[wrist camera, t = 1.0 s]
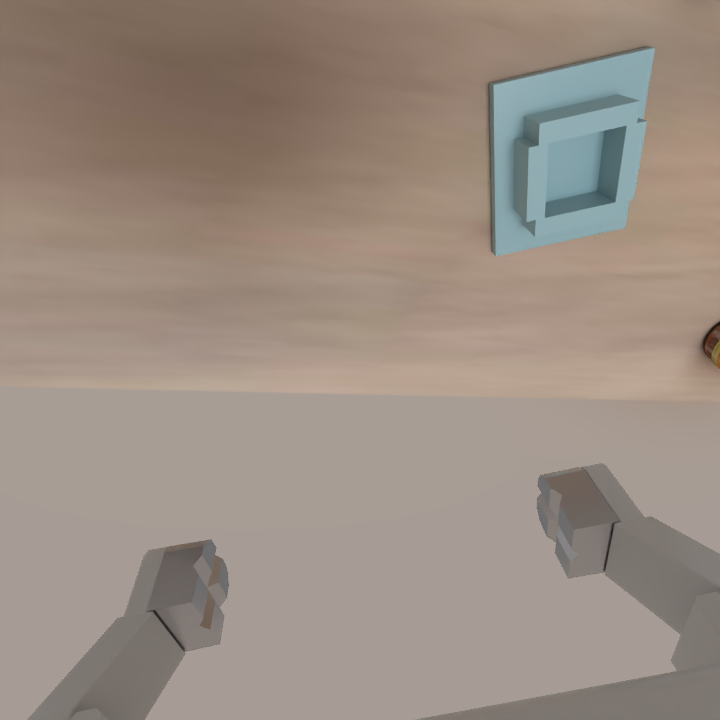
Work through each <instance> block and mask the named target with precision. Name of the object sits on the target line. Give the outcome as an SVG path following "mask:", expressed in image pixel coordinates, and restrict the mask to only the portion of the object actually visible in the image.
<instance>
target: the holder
mask: <svg viewBox="0 0 720 720" xmlns="http://www.w3.org/2000/svg"><path fill="white" fill-rule="evenodd" d="M654 52H655V47H643V48H639V49H635V50H630V51H626V52H622V53H617V54H613V55H609V56H604V57H600V58H596V59H591V60H587V61H583V62H578V63H574V64H570V65H566V66H561V67H557V68H553V69H548V70H544V71H540V72H535V73H531V74H527V75H522V76H518V77H514V78H509V79H505V80H501V81H497V82H492V83H489V95H490V152H491V209H492V252H493V253H494V255H495V256H499V255H503V254H508V253H513V252H517V251H522V250H526V249H531V248H535V247H540V246H544V245H549V244H554V243H558V242H563V241H567V240H572V239H576V238H581V237H586V236H590V235H595V234H599V233H604V232H608V231H613V230H618V229H622V228H626V222H627V216H628V210H629V204H630V199H633V198H634V195H635V189H636V184H637V178H638V172H639V166H640V160H641V154H642V148H643V142H644V136H645V130H646V125H647V121H646V120H643V119H644V113H645V107H646V101H647V94H648V88H649V82H650V76H651V70H652V64H653V58H654Z"/></svg>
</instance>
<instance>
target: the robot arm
mask: <svg viewBox="0 0 720 720" xmlns="http://www.w3.org/2000/svg"><path fill="white" fill-rule="evenodd" d="M538 487H539V489H540V491H541V494H540V495H539V497H538V498H537V510H538V514H539V519H540V522H541V525H542V527H543V529H544V531H545V533H546V535H547V537H549V538H550V539H552V540H553V541H555V542H556V549H555V554H556V556H557V557H558V559H559V561H560V563H561V565H562V567H563V569H564V571H565V573H566V575H567V577H568V578H573V577H579V576H585V575H591V574H598V573H604V572H605V575H606V576H607V577H608V578H610V579H611V580H612V581H614V582H615V583H616V584H617V585H619V586H620V587H621V588H622V589H624V590H625V591H626V592H628V593H629V594H630V595H631V596H633V597H634V598H635V599H636V600H638V601H639V602H640V603H641V604H643V605H644V606H645V607H646V608H648V609H649V610H650V611H651V612H653V613H654V614H655V615H657V616H658V617H659V618H660V619H662V620H663V621H664V622H666V623H667V624H668V625H669V626H670V627H672V628H673V629H674V630H676V631H677V632H678V633H679V634H681V636H680V638H679V641H678V643H677V646H676V648H675V651H674V654H673V656H672V659H671V662H672V663H673V665H674V667H675V668H676V670H677V671H676V672H670V673H665V674H660V675H654V676H649V677H643V678H638V679H633V680H627V681H622V682H617V683H611V684H606V685H600V686H595V687H589V688H584V689H578V690H573V691H568V692H562V693H557V694H552V695H546V696H541V697H536V698H530V699H525V700H519V701H514V702H508V703H503V704H498V705H492V706H486V707H482V708H476V709H470V710H465V711H460V712H454V713H449V714H444V715H438V716H432V717H427V718H422V719H417V720H720V554H719V553H717V552H715V551H713V550H712V549H710V548H708V547H706V546H704V545H702V544H700V543H699V542H697V541H695V540H693V539H691V538H690V537H688V536H686V535H684V534H682V533H681V532H679V531H677V530H675V529H673V528H671V527H670V526H667V525H666V524H664V523H662V522H660V521H659V520H657V519H655V518H653V517H644V516H643V514H642V513H641V512H640V510H639V509H638V508H637V507H636V505H635V504H634V503H633V501H632V500H631V498H630V497H629V496H628V494H627V493H626V492H625V490H624V489H623V488H622V486H621V485H620V484H619V482H618V481H617V479H616V478H615V477H614V475H613V474H612V473H611V472H610V470H609V469H608V468H607V466H605V465H604V464H602V463H601V464H595V465H590V466H585V467H581V468H579V467H577V468H573V469H568V470H563V471H558V472H553V473H549V474H544V475H540V476H539V478H538ZM215 552H216V546H215V545H214V543H213V542H212V540H205V541H199V542H193V543H188V544H181V545H175V546H169V547H164V548H159V549H152V550H149V551H148V552H147V553H146V554H145V556H144V557H143V560H142V563H141V566H140V569H139V572H138V575H137V578H136V581H135V584H134V587H133V590H132V593H131V596H130V599H129V602H128V605H127V608H126V611H125V614H124V617H120V618H117V619H116V620H115V621H114V623H113V624H112V625H111V626H110V627H109V628H108V629H107V631H106V632H105V633H104V634H103V635H102V636H101V637H100V639H98V641H97V642H96V643H95V644H94V645H93V646H92V648H91V649H90V650H89V651H88V652H87V653H86V654H85V655H84V657H83V658H82V659H81V660H80V661H79V662H78V663H77V664H76V665H75V666H74V668H73V669H72V670H71V671H70V672H69V674H67V676H66V677H65V678H64V679H63V680H62V681H61V682H60V683H59V685H58V686H57V687H56V688H55V689H54V690H53V691H52V692H51V694H50V695H49V696H48V697H47V698H46V699H45V700H44V701H43V703H42V704H41V705H40V706H39V707H38V708H37V709H36V710H35V712H34V713H33V714H32V715H31V716H30V717H29V718H28V720H145V718H146V716H147V715H148V713H149V712H150V710H151V708H152V707H153V705H154V704H155V702H156V700H157V699H158V697H159V695H160V694H161V692H162V690H163V689H164V688H165V686H166V684H167V682H168V681H169V679H170V678H171V676H172V675H173V673H174V671H175V670H176V668H177V667H178V665H179V663H180V662H181V660H182V659H183V657H184V655H185V652H186V651H190V650H195V649H199V648H204V647H209V646H213V645H218V644H220V640H221V634H222V628H223V621H224V615H223V613H222V611H221V609H220V606H221V605H222V604H223V602H224V601H225V600H226V598H227V594H228V586H229V584H228V571H227V568H226V565H225V563H224V561H223V559H222V558H220V557H218V556H216V555H215Z"/></svg>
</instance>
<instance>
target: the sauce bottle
mask: <svg viewBox="0 0 720 720" xmlns="http://www.w3.org/2000/svg"><path fill="white" fill-rule="evenodd" d="M704 350H705V353H706V354H707V355H708V357H709V358H710V359H712V361H713V363H714V364H715V365H716V366H717V367H718V368H720V325H718V326H717V327H716V328H714V329H713V331H712V332H711V333H710V335H709V336H708V338H707V340H706V342H705V348H704Z"/></svg>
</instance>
